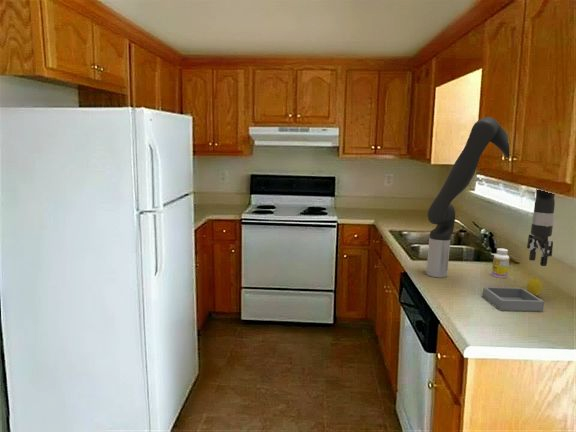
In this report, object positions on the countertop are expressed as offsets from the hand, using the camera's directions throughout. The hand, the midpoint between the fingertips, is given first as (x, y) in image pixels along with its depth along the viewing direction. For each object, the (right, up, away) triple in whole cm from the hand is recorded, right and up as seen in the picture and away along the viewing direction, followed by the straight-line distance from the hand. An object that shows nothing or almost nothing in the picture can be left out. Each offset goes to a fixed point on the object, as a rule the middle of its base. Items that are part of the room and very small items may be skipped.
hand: (537, 263), depth 196 cm
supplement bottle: (-2, -9, +30) cm, 32 cm away
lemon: (0, -14, +3) cm, 14 cm away
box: (-14, -15, -8) cm, 22 cm away
